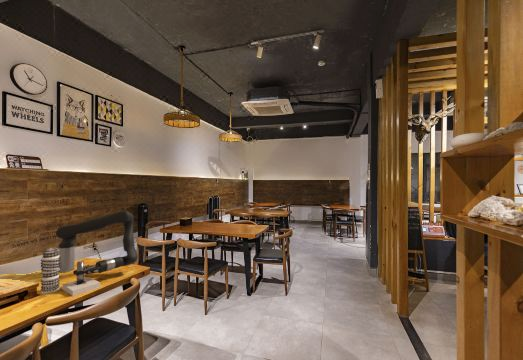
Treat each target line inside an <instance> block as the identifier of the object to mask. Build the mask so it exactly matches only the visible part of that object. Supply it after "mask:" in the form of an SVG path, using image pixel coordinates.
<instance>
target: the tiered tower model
mask: <svg viewBox="0 0 523 360" xmlns="http://www.w3.org/2000/svg"><path fill="white" fill-rule="evenodd" d="M41 253H42V258H41V259H40V268H41V269H40V270H41V274H42V275H41V281H40V282H41V283H40V284H41V286H40V291H41V294H45V295H46V294H51V293H55V292H58V291H59V290H60V287H61V285H60V284H61V283H60V280H61V277H60V272H59V270H60V268H59V267H60V265H59V264H61V263H60V262H59V261H60V260H61V259H59V258H61V257H60V256H59V247H48V248H45V249H44V250H43V251H42V252H41Z"/></svg>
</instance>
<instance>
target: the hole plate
mask: <svg viewBox="0 0 523 360" xmlns="http://www.w3.org/2000/svg"><path fill="white" fill-rule="evenodd" d="M99 288H101V282H100V281H98V280H96V279H93V278H91V277H90V276H89V277H88V276H87V277H84V283H82V284H79V285H77V280H74V281H70V282H67V283H66V282H65V283H63V284H62V285H61V290H63V291H65V293H67V294H68V295H70V296H72V297H74V296H78V295H80V294H83V293H87V292H90V291H93V290H96V289H99Z"/></svg>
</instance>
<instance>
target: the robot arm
mask: <svg viewBox="0 0 523 360" xmlns="http://www.w3.org/2000/svg"><path fill="white" fill-rule="evenodd" d="M114 224H122V225H123V228H124V230H123V231H124V232H123V237H122V246H123V247H122V248H123V251H124V252H126V255H124V256H117V257H112V258H107V259H103V260H99V261H96V262H95V264H87V265H84V270H82V271H78V272H77V269H75V253H76V251H75V249H76V245H75V244H76V242H77V235H79V234H87V233H91V232H96V231H100V230H103V229H105V228H106V227H108V226H110V225H114ZM55 236H56V237H57V238H59V239H62V240H61V242H60V243H59V244H58V249H59V256H60V257H61V258H59V259H61V260H60V261H59V262H60V263H61V264H59V265H60V267H59V268H60V270H59V273H67V272H71V271H73V272H72V273H73V275H75V276H76V277H77V276H78V275H82V274H84V275H93V274H100V273H101V274H102V273H105V272H108V271H111V270H114V269H117V268H121V267H126V266H130V265H132V264H135V263H136V262H137V261H138V252H137V250H136V248H135V239H134V215H133V213H132V212H130V211H128V210H120V211H117V212H114V213H111V214H109V215H103V216H100V217H94V218H92V219H91V218H90V219H87V220H85V221H82V222H79V223H75V224H65V225H62V226H60V227H59V228H58V229H57V230H56V231H55Z"/></svg>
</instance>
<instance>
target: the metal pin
mask: <svg viewBox="0 0 523 360" xmlns="http://www.w3.org/2000/svg"><path fill="white" fill-rule="evenodd" d="M84 266H85V261H84V260H80V261H77V262H76V270H77V272H78V271H82V270H84ZM84 278H85V274H82V275H78V276H76V281H77V285H79V284H82V283H84Z"/></svg>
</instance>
